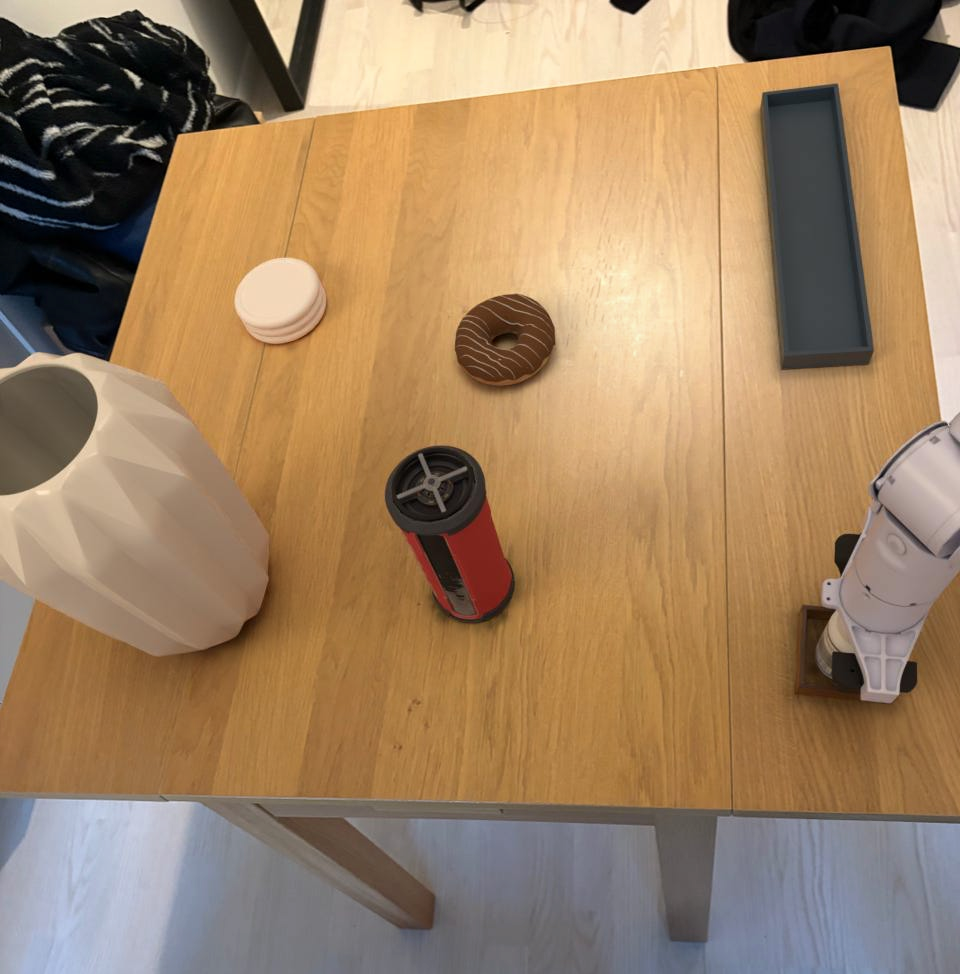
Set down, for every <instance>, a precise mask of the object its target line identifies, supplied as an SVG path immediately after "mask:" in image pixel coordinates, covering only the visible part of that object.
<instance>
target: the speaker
mask: <svg viewBox="0 0 960 974" xmlns="http://www.w3.org/2000/svg"><path fill="white" fill-rule="evenodd" d="M389 474H390V475H389V476H388V479H387V481H386V483H385V488H384V502H385V506H386V509H387V511H388V513H389V515H390V517H391V519H392V521H393V522H394V523H395V525H396V526H397V527H398V528H399V529H400V531H401V533H402V535H403V537H404V540H406V542H407V544H408V546H409V549H410V551H411V552H412V554H413V557H414V558H415V560H416V562H417V563H418V565H419V568H420V569H421V572H422V573H423V575H424V577H425V579H426V581H427V583H428V584H429V587H430V588H431V591H432V596H433V598H434V601H435V602H436V604H437V606H438V607H439V609H440V610H441V611H442V612H443V613H444V614H445V615H446V616H447V617H449V618H451V619H452V620H455V621H458V622H462V623H480V622H483V621H486V620H489V619H491V618H493V617H495V616H496V615H498V614H500V612H501V611H503V610H504V608H505V607H506V606H507V605H508V604H509V602H510V601H511V598H512V597H513V593H514V590H515V583H516V580H515V573H514V571H513V568H512V566H511V564H510V562H509V561H508V560H507V558H505V556H504V552H503V549H502V546H501V543H500V539H499V535H498V533H497V529H496V526H495V523H494V520H493V516H492V510H491V506H490V503H489V500H488V496H487V494H488V493H487V492H488V491H487V488H486V478H485V474H484V471H483V469H482V466H481V465H480V463H479V461H478V460H477V459H476V458H475V457H474V456H472V454H471V453H469V452H467V451H466V450H464V449H461V448H460V447H457V446H451V445H445V444H444V445H443V444H441V445H431V446H428V447H423V448H420V449H418V450H416V451H413V452H412V453H410V454H408V455H407V456H405V457H404V458H403V459H402V460H400V462H399V463H397V465H396V466H395V467H394V468H393V470H391V473H389Z"/></svg>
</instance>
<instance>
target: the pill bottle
mask: <svg viewBox="0 0 960 974" xmlns="http://www.w3.org/2000/svg"><path fill="white" fill-rule="evenodd" d="M833 651H836V652H846V653H854V650H853V648H852V645H851V643H850V640H849V637H848V635H847V632H846V630H845V627H844V625H843V622H842V620H841V617H840V615H839V612H838V611H837V610H836V611H835V612H834V614H833V615H832V616H831V618H830V620H828V622H827V624H826V626H825V628H824V630H823V632H822V633H821V636H820V637H819V640H818V641H817V644H816V646H815V649H814V659H815V663H816V666H817V668H818V669H819V670H820V672H821V673H822V674H824V675H825V676H826V677H828V678H829V679H831V680H833V679H832V653H833Z"/></svg>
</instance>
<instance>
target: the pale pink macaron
mask: <svg viewBox="0 0 960 974" xmlns="http://www.w3.org/2000/svg"><path fill="white" fill-rule="evenodd" d="M234 293H235V294H234V302H233V303H234V308H235V312H236V314H237V316H238V318H239V319H240V321H241V322H242V324H243V326H244V327H245V329H246V331H247V332H248V333H249V334H250V335H251V336H252V337H253V338H254V339H256V340H258V341H260V342H262V343H266V344H271V345H272V344H273V345H278V344H279V345H280V344H286V343H290V342H293V341H296V340H298V339H300V338H302V337H304V336H306V335H307V334H308V333H309V332H311V331H313V329H314V328H315V327H316V326H317V325H318V324H319V322H321V320H322V318H323V317H324V314H325V312H326V308H327V294H326V291H325V288H324V287H323V284H322V281H321V279H320V278H319V275H318V273H317V271H316V269H314V267H313V266H312V265H311V264H310V263H308V262H307V261H305V260H302V259H299V258H296V257H277V258H273V259H269V260H267V261H264V262H261V263H260V264H258V265H256V266H255V267H254V268H252V269H251V270H250V271H249V272H248V273H246V274H245V276H244V277H243V278H242V279H241V280H240V283H239V284H238V286H237V288H236V291H235V292H234Z"/></svg>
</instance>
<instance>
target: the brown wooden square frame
mask: <svg viewBox="0 0 960 974" xmlns="http://www.w3.org/2000/svg"><path fill="white" fill-rule="evenodd" d="M835 611H836V609H831V608H826V607H824V606H823V605H812V604H811V605H810V604H802V605H801V607H800V610H799V611H798V615H797V617H798V618H797V641H796V663H795V664H796V665H795V668H796V669H795V685H794V687H795V691H794V694H795V695H800V696H809V697H810V696H811V697H819V698H820V697H821V698H829V699H838V700H848V701H858V702H867V703H873V702H872V701H864V700H861V695H860V694H851V693H841V692H838V691H837V686H836V685H835V686H833V685H823V684H816V683H815V684H814V683H805V678H806V677H805V676H806V675H805V674H806V668H805V667H806V648H807V647H806V646H807V622H808V621H807V619H815V620H827V621H829V620H830V618H831V616H832V615H833V614H834V612H835ZM898 698H899V695H898V696H897V697H896V698H895V700H894V701H893V702H892V703H883V702H874V703H875V704H885V705H892V704H893V703H894V702H895V701H896V700H897V699H898Z"/></svg>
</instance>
